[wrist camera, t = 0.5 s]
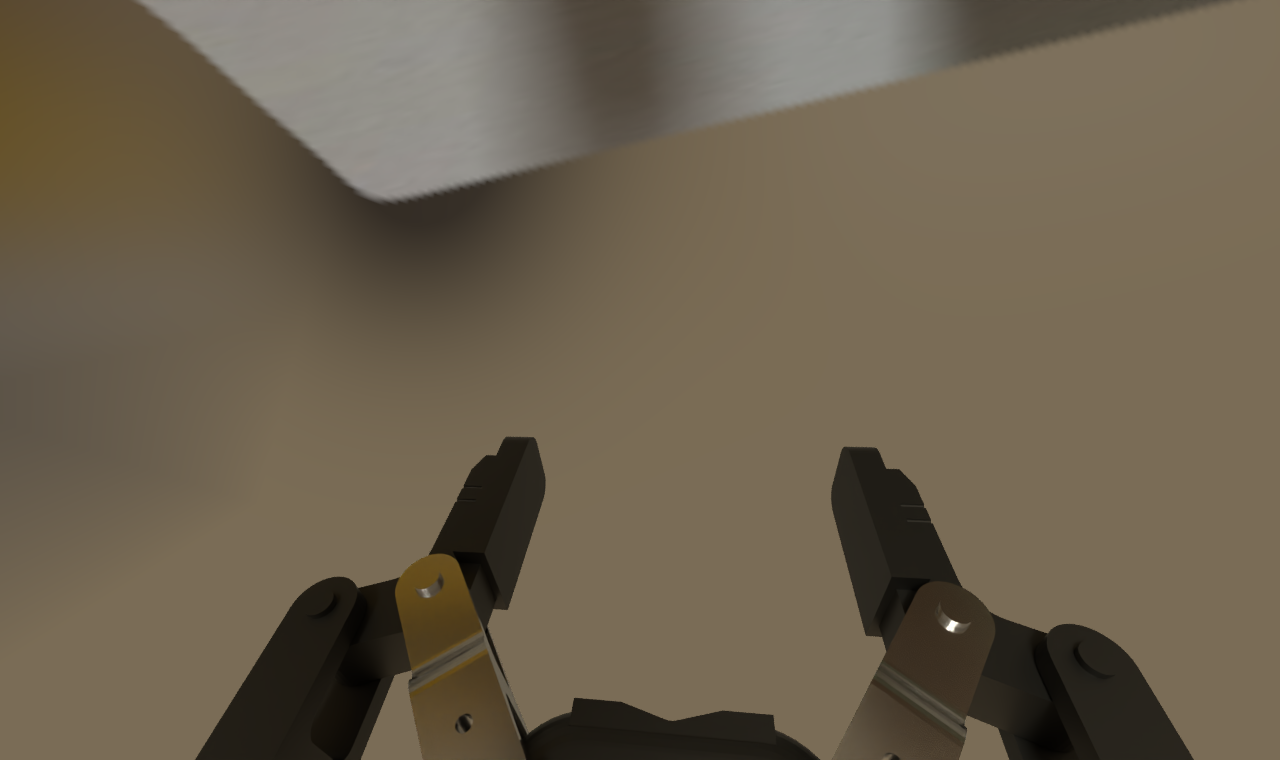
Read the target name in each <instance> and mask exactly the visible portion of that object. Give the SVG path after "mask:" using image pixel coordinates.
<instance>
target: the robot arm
mask: <svg viewBox="0 0 1280 760" xmlns="http://www.w3.org/2000/svg"><path fill="white" fill-rule="evenodd" d="M544 494H545V474H544V470H543V466H542V462H541V458H540V454H539V450H538V446H537V442H536V439H535V438H534V437H506V438H505V439H504V440H503V442H502V444H501V446H500V448H499V451H498V453H497V455H496V456H493V455H486V456H485V457H484V458H483V459H482V460H481V461H480V462H479V463H478V464H477V465H476V466H475V467H474V468H473V469H472V470H471V472H470V474H469V476H468V478H467V480H466V482H465V484H464V488H463V489H462V490H461V492H460V494H459V496H458V498H457V502H455V504H454V506H453V508H452V510H451V512H450V514H449V516H448V518H447V520H446V522H445V524H444V526H443V528H442V530H441V532H440V534H439V536H438V538H437V540H436V542H435V544H434V546H433V548H432V550H431V552H430V553H429V555H428V556H426V557H423V558H421V559H419V560H417V561H416V562H414V563H413V564H411V565H410V566H409V567H408V568H407V569H406V570H405V571H404V573H403V574H402V575H401V577H399V578H396V579H393V580H389V581H385V582H381V583H377V584H373V585H369V586H365V587H361V588H358V587H357V586H356V585H355V583H354V582H353V581H352V580H350V579H349V578H345V577H332V578H328V579H325V580H322V581H320V582H318V583H316V584H315V585H313V586H311V587H310V588H308V589H307V590H306V591H304V592H303V593H302V594H301V595H300V596H299V597H298V598H297V600H295V602H294V603H293V605H292V606H291V607H290V609H289V611H288V612H287V614H286V616H285V617H284V619H283V620H282V622H281V624H280V625H279V627H278V628H277V630H276V631H275V633H274V635H273V636H272V638H271V639H270V641H269V643H268V644H267V646H266V648H265V649H264V651H263V652H262V654H261V655H260V657H259V659H258V660H257V662H256V664H255V665H254V667H253V668H252V670H251V671H250V673H249V675H248V676H247V678H246V680H245V681H244V683H243V684H242V686H241V688H240V689H239V691H238V692H237V694H236V695H235V697H234V699H233V700H232V702H231V703H230V705H229V707H228V708H227V710H226V711H225V713H224V715H223V716H222V718H221V719H220V721H219V723H218V724H217V726H216V727H215V729H214V730H213V732H212V734H211V735H210V737H209V739H208V740H207V742H206V743H205V745H204V746H203V748H202V750H201V751H200V753H199V754H198V756H197V758H196V760H361V756H362V755H363V752H364V750H365V747H366V745H367V742H368V740H369V737H370V735H371V732H372V730H373V727H374V725H375V723H376V720H377V717H378V715H379V713H380V710H381V707H382V705H383V703H384V700H385V698H386V695H387V693H388V690H389V688H390V685H391V683H392V680H393V678H394V676H395V675H396V674H400V673H403V672H407V671H410V670H412V679H410V680H409V683H408V689H409V696H410V701H411V705H412V709H413V715H414V719H415V724H416V729H417V733H418V739H419V744H420V748H421V753H422V758H423V760H820V759H819V758H818V757H817V756H815V755H814V754H813V753H812V752H811V751H810V750H809V749H807V748H806V747H805V746H803V745H802V744H800V743H799V742H797V741H796V740H794V739H793V738H791V737H789V736H787V735H785V734H783V733H781V732H778V731H776V730H775V727H774V718H773V715H766V714H755V713H743V712H732V711H719V712H714V713H710V714H705V715H700V716H696V717H691V718H686V719H682V720H677V721H668V720H665V719H663V718H660V717H657V716H655V715H652V714H650V713H648V712H645V711H643V710H640V709H638V708H635V707H633V706H630V705H628V704H625V703H623V702H616V701H604V700H593V699H582V698H574V701H573V707H572V712H570V713H566V714H562V715H560V716H557V717H554V718H552V719H550V720H549V721H546V722H545V723H543V724H541V725H540V726H538V727H537V728H535V729H534V730H532V731H531V732H530V733H529V732H528V729H527V727H526V724H525V722H524V719H523V717H522V714H521V712H520V709H519V707H518V704H517V702H516V700H515V697H514V695H513V692H512V689H511V687H510V684H509V682H508V679H507V676H506V673H505V670H504V668H503V665H502V663H501V660H500V657H499V654H498V652H497V649H496V646H495V643H494V641H493V638H492V636H491V633H490V630H489V627H488V622H489V619H490V616H491V613H492V611H493V609H502V610H508V607H509V604H510V601H511V598H512V595H513V592H514V588H515V586H516V582H517V579H518V576H519V573H520V570H521V567H522V564H523V561H524V558H525V554H526V551H527V548H528V545H529V542H530V539H531V536H532V532H533V529H534V526H535V523H536V520H537V517H538V514H539V511H540V508H541V505H542V501H543V498H544ZM831 501H832V510H833V514H834V518H835V521H836V525H837V529H838V533H839V536H840V540H841V544H842V548H843V551H844V555H845V559H846V563H847V567H848V570H849V574H850V578H851V582H852V585H853V589H854V593H855V597H856V600H857V604H858V608H859V612H860V616H861V619H862V623H863V627H864V630H865V634H866V636H879V637H882V638H883V641H884V645H885V648H886V654H885V656H884V658H883V660H882V662H881V664H880V666H879V668H878V670H877V672H876V674H875V676H874V677H873V679H872V681H871V683H870V685H869V687H868V689H867V691H866V693H865V695H864V697H863V699H862V701H861V703H860V705H859V707H858V709H857V711H856V713H855V715H854V717H853V719H852V721H851V723H850V725H849V727H848V729H847V731H846V733H845V735H844V737H843V739H842V741H841V743H840V745H839V747H838V748H837V750H836V752H835V754H834V757H833V758H832V760H959V757H960V754H961V751H962V748H963V745H964V742H965V738H966V733H967V728H966V727H965V726H964V724H965V719H966V716H967V715H968V716H970V717H973V718H975V719H978V720H980V721H982V722H985V723H987V724H990V725H992V726H995V727H997V728H998V729H999V732H1000V735H1001V737H1002V740H1003V743H1004V746H1005V749H1006V752H1007V754H1008V757H1009V760H1194V759H1193V758H1192V756H1191V754H1190V753H1189V751H1188V749H1187V748H1186V746H1185V744H1184V743H1183V741H1182V739H1181V738H1180V736H1179V735H1178V733H1177V731H1176V730H1175V728H1174V726H1173V725H1172V723H1171V721H1170V720H1169V718H1168V716H1167V715H1166V713H1165V711H1164V710H1163V708H1162V706H1161V705H1160V703H1159V702H1158V700H1157V698H1156V696H1155V695H1154V693H1153V692H1152V690H1151V688H1150V687H1149V685H1148V683H1147V682H1146V680H1145V678H1144V677H1143V675H1142V673H1141V672H1140V670H1139V669H1138V667H1137V665H1136V664H1135V663H1134V661H1133V660H1132V659H1131V658H1130V656H1129V655H1128V654H1127V653H1126V652H1125V651H1124V650H1123V649H1122V648H1121V647H1119V646H1118V645H1117V644H1116V643H1114V642H1113V641H1112V640H1110V639H1109V638H1107V637H1105V636H1104V635H1102V634H1100V633H1099V632H1097V631H1094V630H1092V629H1090V628H1087V627H1084V626H1080V625H1075V624H1062V625H1058V626H1056V627H1054V628H1053V629H1051V630H1050V632H1049V633H1048V634H1047V633H1044V632H1041V631H1038V630H1035V629H1032V628H1029V627H1026V626H1023V625H1020V624H1017V623H1014V622H1011V621H1009V620H1006V619H1003V618H1001V617H998V616H997V615H994V614H993V613H991V612H989V610H988V609H987V607H986V606H985V605H984V604H983V603H982V602H981V601H980V600H979V599H978V598H977V597H976V596H975V595H973V594H972V593H971V592H969V591H967V590H966V589H964V588H962V586H961V584H960V582H959V580H958V578H957V576H956V574H955V572H954V569H953V567H952V565H951V563H950V561H949V558H948V556H947V554H946V552H945V550H944V547H943V545H942V543H941V541H940V539H939V537H938V535H937V532H936V530H935V528H934V525H933V524H931V519H930V517H929V514H928V512H927V510H926V508H924V503H923V501H922V499H921V497H920V495H919V492H918V490H917V488H916V486H915V485H914V484H913V483H912V482H911V481H910V480H909V479H908V478H907V477H906V476H905V475H904V474H903V473H902V472H901V471H900V470H899V469H886V468H885V465H884V463H883V460H882V458H881V455H880V453H879V451H878V449H877V448H872V447H844V448H843V449H842V451H841V454H840V458H839V462H838V466H837V470H836V474H835V478H834V481H833V485H832V492H831Z"/></svg>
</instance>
